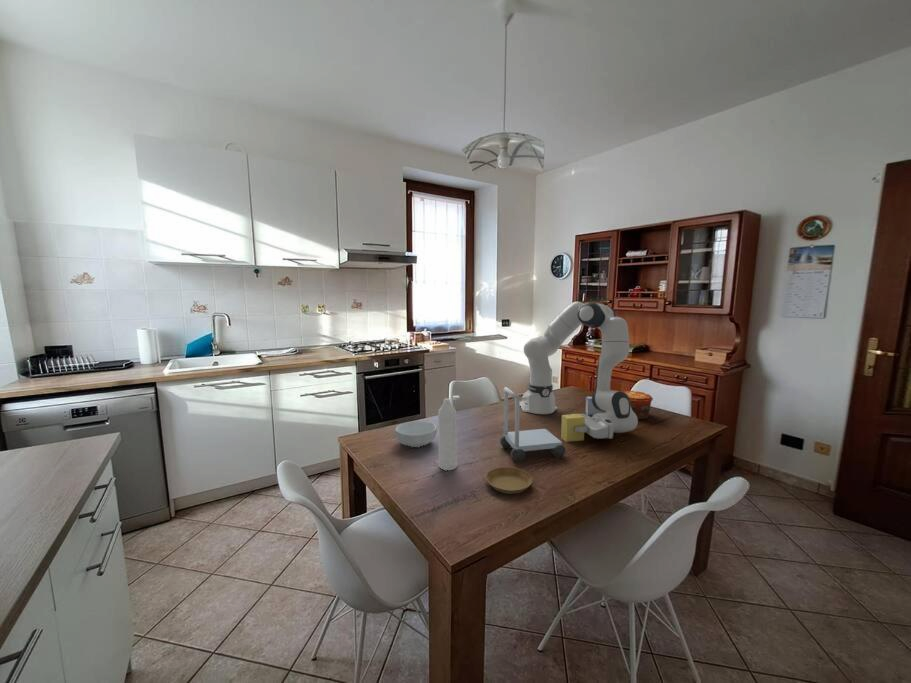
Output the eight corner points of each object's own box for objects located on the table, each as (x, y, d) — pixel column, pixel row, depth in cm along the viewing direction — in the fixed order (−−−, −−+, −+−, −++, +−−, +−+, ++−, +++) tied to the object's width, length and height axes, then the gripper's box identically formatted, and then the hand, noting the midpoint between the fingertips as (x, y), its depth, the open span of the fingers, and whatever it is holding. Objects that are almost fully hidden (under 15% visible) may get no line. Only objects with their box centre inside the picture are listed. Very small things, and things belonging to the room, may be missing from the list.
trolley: (499, 447, 145) (500, 387, 142) (548, 442, 150) (549, 383, 146) (512, 462, 132) (513, 396, 129) (565, 457, 136) (567, 393, 133)
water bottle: (447, 472, 125) (446, 402, 122) (435, 466, 130) (434, 398, 126) (465, 464, 131) (464, 397, 127) (453, 458, 136) (452, 394, 132)
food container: (611, 415, 181) (612, 395, 180) (622, 408, 193) (623, 388, 191) (646, 423, 170) (647, 401, 169) (655, 414, 182) (656, 394, 180)
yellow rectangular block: (561, 437, 154) (561, 415, 153) (578, 436, 156) (579, 413, 155) (566, 441, 150) (567, 418, 149) (583, 440, 152) (584, 417, 150)
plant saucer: (508, 469, 127) (508, 462, 127) (541, 487, 116) (541, 479, 115) (476, 483, 118) (476, 475, 118) (508, 503, 107) (508, 495, 106)
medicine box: (601, 413, 185) (601, 396, 184) (603, 415, 181) (604, 399, 180) (585, 412, 186) (585, 396, 185) (587, 415, 182) (588, 398, 181)
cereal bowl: (445, 443, 150) (444, 426, 149) (414, 456, 138) (414, 438, 137) (418, 432, 161) (417, 417, 160) (387, 444, 149) (387, 427, 148)
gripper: (587, 409, 165) (559, 411, 162) (615, 425, 145) (584, 427, 142) (586, 422, 165) (558, 424, 163) (614, 440, 145) (583, 443, 143)
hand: (570, 426), depth 152 cm, fingers closed on yellow rectangular block, 4 cm apart
